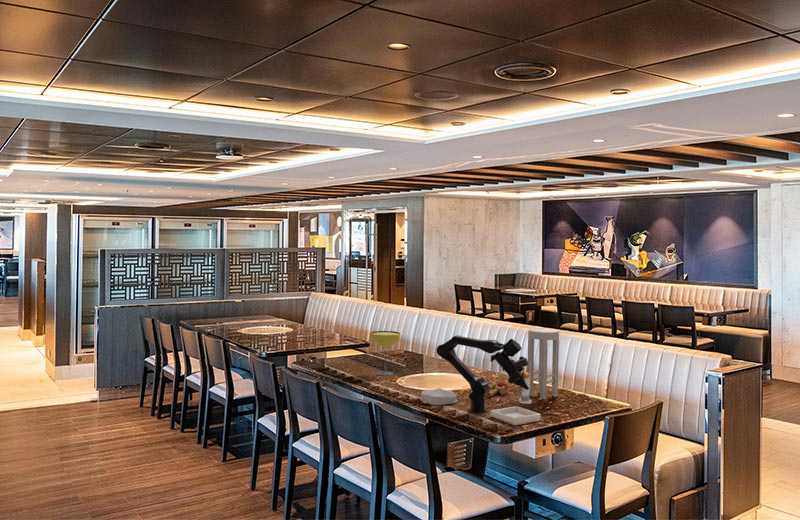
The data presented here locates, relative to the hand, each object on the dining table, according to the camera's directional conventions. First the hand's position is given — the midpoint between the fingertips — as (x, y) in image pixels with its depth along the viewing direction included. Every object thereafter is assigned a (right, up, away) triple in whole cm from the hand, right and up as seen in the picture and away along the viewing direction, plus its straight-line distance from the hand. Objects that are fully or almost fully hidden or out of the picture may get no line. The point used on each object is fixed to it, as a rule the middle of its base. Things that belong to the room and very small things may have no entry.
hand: (528, 388), depth 302 cm
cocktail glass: (-69, -10, +94) cm, 117 cm away
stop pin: (-2, -7, +1) cm, 7 cm away
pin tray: (-7, -13, -3) cm, 15 cm away
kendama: (-8, -12, +44) cm, 47 cm away
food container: (-40, -13, +29) cm, 51 cm away
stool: (+16, -13, +43) cm, 47 cm away
